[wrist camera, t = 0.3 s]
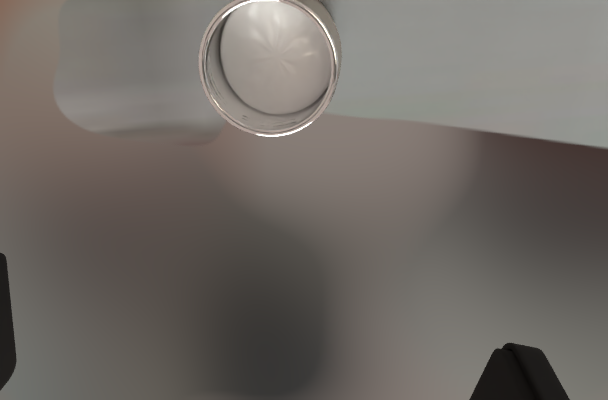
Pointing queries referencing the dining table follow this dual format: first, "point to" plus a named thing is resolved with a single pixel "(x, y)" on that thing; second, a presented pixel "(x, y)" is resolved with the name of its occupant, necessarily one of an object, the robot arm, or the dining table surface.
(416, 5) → the dining table surface
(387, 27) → the dining table surface
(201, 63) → the metal tumbler
